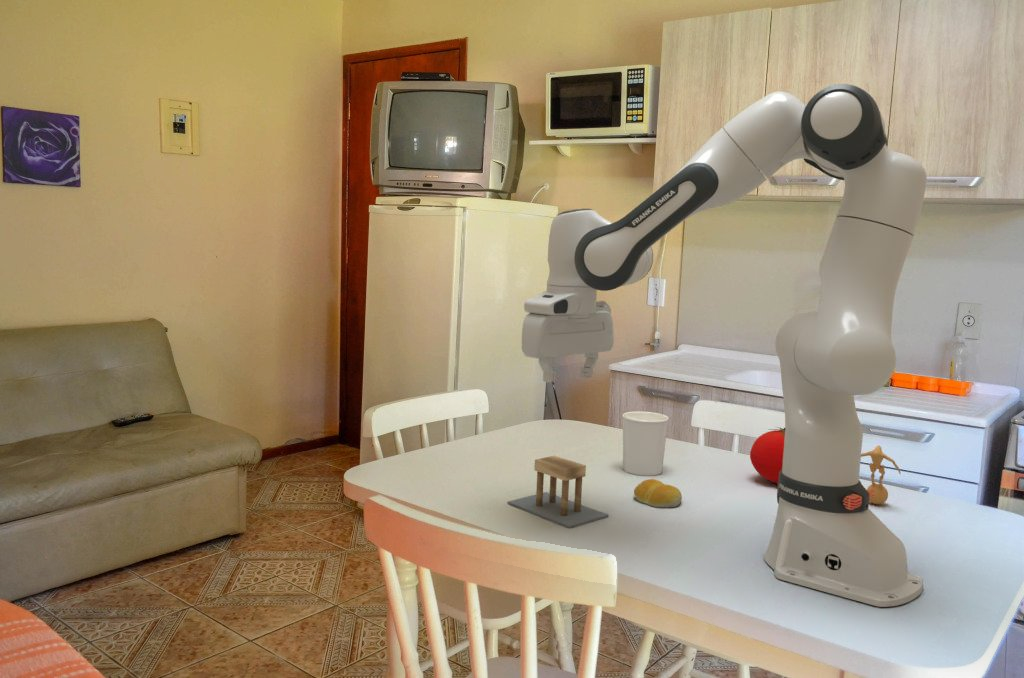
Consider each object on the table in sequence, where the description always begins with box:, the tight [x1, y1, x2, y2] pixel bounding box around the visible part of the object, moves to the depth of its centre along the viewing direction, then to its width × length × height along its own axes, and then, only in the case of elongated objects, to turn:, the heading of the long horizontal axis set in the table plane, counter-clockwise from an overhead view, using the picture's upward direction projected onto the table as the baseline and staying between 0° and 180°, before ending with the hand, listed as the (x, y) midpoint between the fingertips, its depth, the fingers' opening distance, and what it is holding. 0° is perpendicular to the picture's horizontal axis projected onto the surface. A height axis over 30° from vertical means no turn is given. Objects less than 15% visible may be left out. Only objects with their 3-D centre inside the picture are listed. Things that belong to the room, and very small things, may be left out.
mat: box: [507, 491, 610, 529], centre depth 149 cm, size 16×10×1 cm, turn 42°
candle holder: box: [622, 410, 670, 477], centre depth 177 cm, size 10×10×12 cm
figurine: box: [861, 445, 901, 506], centre depth 158 cm, size 8×6×12 cm
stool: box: [534, 455, 587, 516], centre depth 148 cm, size 5×8×8 cm, turn 42°
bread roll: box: [633, 478, 683, 509], centre depth 157 cm, size 8×9×4 cm
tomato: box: [749, 426, 785, 484], centre depth 172 cm, size 12×14×12 cm
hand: (568, 379), depth 146 cm, fingers open, 8 cm apart
